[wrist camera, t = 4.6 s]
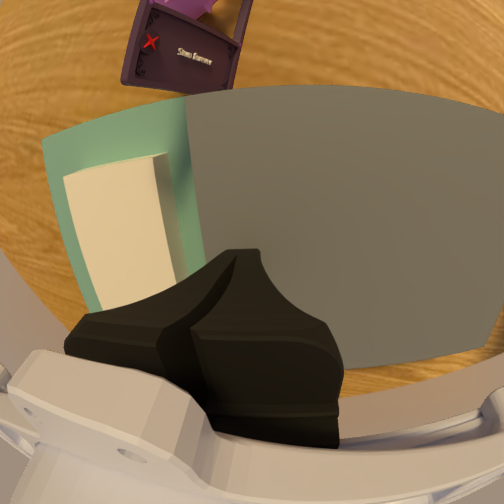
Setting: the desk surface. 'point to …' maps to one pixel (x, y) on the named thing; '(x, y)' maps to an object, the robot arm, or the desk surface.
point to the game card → (181, 48)
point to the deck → (360, 210)
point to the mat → (117, 149)
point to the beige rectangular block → (128, 228)
